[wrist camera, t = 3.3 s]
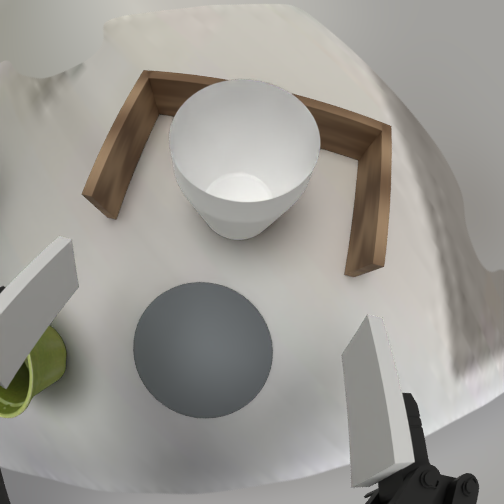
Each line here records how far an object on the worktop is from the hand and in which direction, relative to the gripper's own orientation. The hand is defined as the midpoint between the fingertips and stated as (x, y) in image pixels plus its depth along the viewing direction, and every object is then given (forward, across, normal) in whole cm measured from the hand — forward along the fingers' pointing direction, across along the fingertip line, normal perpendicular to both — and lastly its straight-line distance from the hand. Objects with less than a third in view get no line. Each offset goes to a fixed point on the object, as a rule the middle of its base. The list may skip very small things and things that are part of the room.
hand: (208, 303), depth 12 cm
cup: (+17, -1, -3) cm, 17 cm away
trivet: (+7, -1, -12) cm, 14 cm away
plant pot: (+3, -16, -16) cm, 23 cm away
